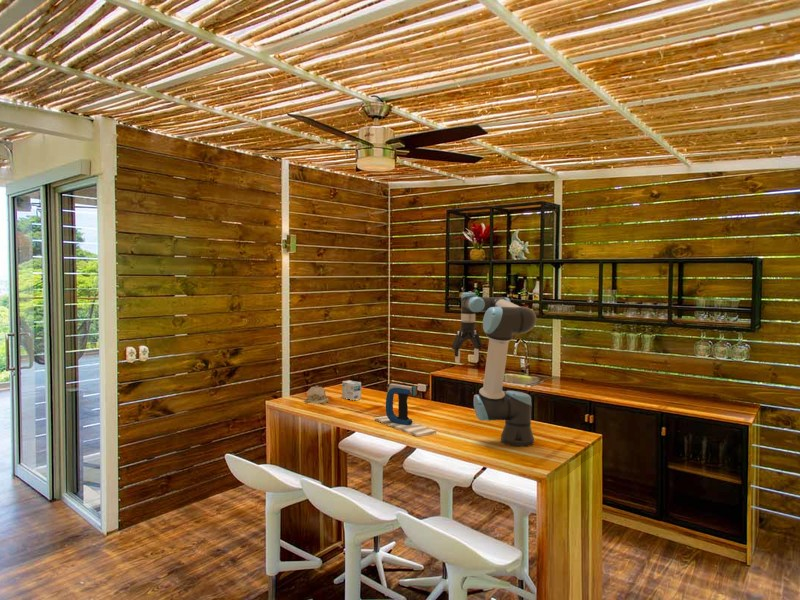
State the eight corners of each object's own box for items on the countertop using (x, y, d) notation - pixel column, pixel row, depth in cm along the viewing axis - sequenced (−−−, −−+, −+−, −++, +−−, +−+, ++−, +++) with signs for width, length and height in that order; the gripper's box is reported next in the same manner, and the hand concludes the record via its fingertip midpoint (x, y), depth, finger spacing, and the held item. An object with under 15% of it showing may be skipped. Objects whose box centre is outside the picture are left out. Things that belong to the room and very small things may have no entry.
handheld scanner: (412, 426, 267) (413, 387, 266) (384, 421, 275) (386, 383, 274) (416, 424, 271) (418, 386, 270) (388, 419, 279) (390, 382, 278)
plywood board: (436, 433, 261) (436, 430, 260) (416, 437, 253) (417, 434, 253) (392, 417, 289) (392, 414, 289) (374, 420, 282) (374, 417, 282)
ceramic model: (303, 404, 315) (303, 387, 315) (306, 399, 327) (306, 383, 326) (327, 404, 315) (327, 387, 315) (329, 400, 327) (329, 384, 326)
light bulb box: (361, 399, 330) (361, 382, 330) (353, 401, 325) (353, 383, 324) (349, 396, 337) (349, 379, 337) (341, 398, 332) (341, 381, 332)
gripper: (479, 320, 293) (478, 359, 294) (445, 321, 278) (444, 362, 279) (489, 321, 287) (488, 361, 288) (455, 322, 272) (454, 364, 273)
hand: (466, 361), depth 283 cm, fingers open, 13 cm apart
